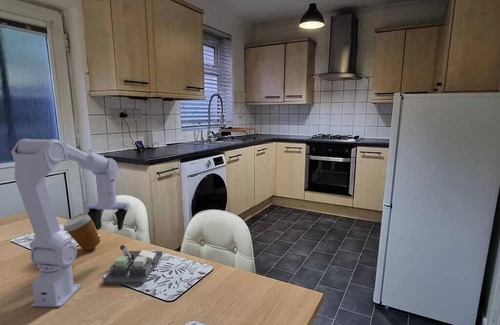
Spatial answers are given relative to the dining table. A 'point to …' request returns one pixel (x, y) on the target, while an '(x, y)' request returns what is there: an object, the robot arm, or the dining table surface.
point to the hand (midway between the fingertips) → (109, 229)
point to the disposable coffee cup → (83, 231)
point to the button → (121, 261)
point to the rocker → (147, 254)
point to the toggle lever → (125, 251)
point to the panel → (132, 271)
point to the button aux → (140, 261)
